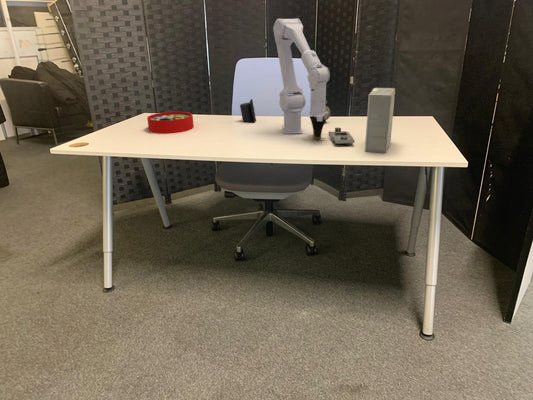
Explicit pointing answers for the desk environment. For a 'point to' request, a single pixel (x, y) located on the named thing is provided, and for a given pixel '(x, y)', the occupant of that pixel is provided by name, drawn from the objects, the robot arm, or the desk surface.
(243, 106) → the speaker
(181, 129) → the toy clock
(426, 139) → the desk surface
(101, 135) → the desk surface
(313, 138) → the brass pin
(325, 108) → the pocket watch
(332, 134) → the square cutout plate
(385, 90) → the hard drive box
